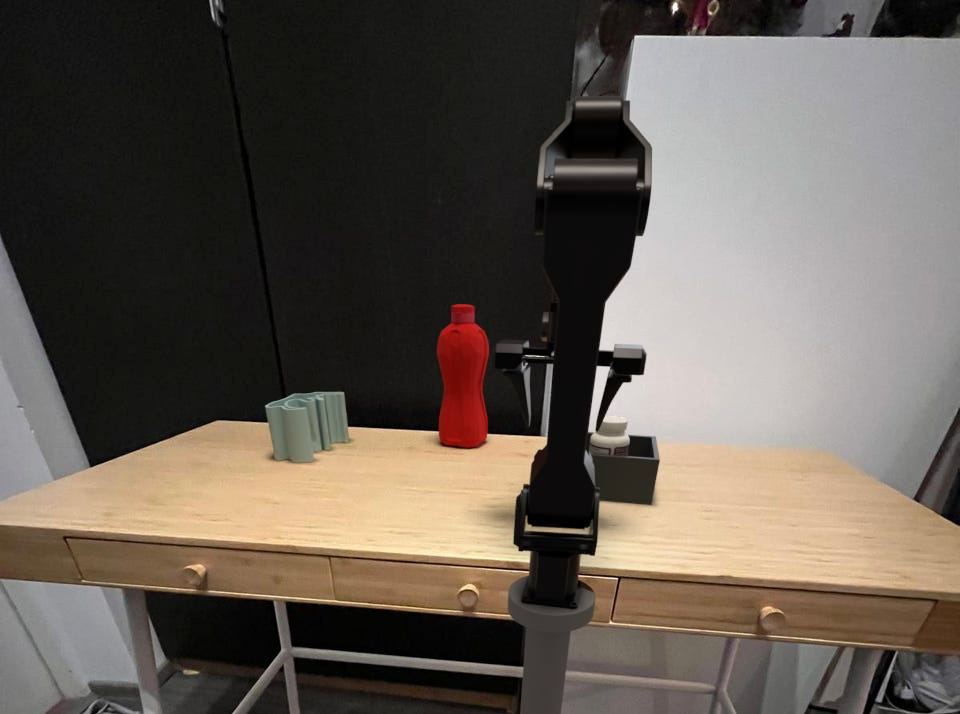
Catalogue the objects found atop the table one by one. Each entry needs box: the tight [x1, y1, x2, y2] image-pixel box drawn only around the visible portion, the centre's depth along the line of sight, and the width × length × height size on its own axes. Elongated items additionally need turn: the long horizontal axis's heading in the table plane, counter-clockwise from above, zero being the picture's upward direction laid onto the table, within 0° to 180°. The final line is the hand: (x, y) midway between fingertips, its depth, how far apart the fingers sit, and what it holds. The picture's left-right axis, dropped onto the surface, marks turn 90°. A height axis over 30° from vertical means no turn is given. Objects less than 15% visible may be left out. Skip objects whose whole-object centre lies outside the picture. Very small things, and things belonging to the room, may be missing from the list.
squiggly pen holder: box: [264, 391, 350, 464], centre depth 110 cm, size 18×10×9 cm, turn 171°
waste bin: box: [586, 431, 661, 505], centre depth 94 cm, size 15×15×7 cm
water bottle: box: [436, 303, 490, 449], centre depth 112 cm, size 9×11×25 cm
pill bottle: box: [589, 415, 630, 456], centre depth 90 cm, size 6×6×11 cm
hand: (562, 428), depth 75 cm, fingers open, 9 cm apart
